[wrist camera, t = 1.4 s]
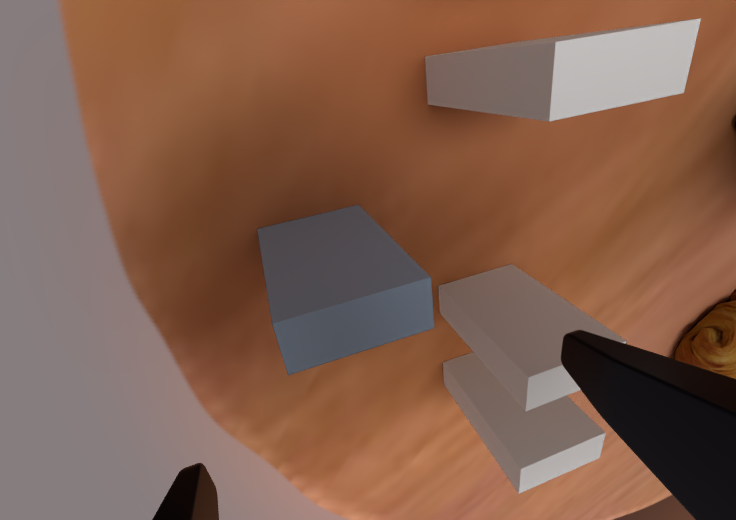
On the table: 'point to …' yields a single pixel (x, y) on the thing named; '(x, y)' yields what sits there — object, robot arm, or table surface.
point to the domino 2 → (565, 72)
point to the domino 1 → (340, 287)
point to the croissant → (712, 341)
